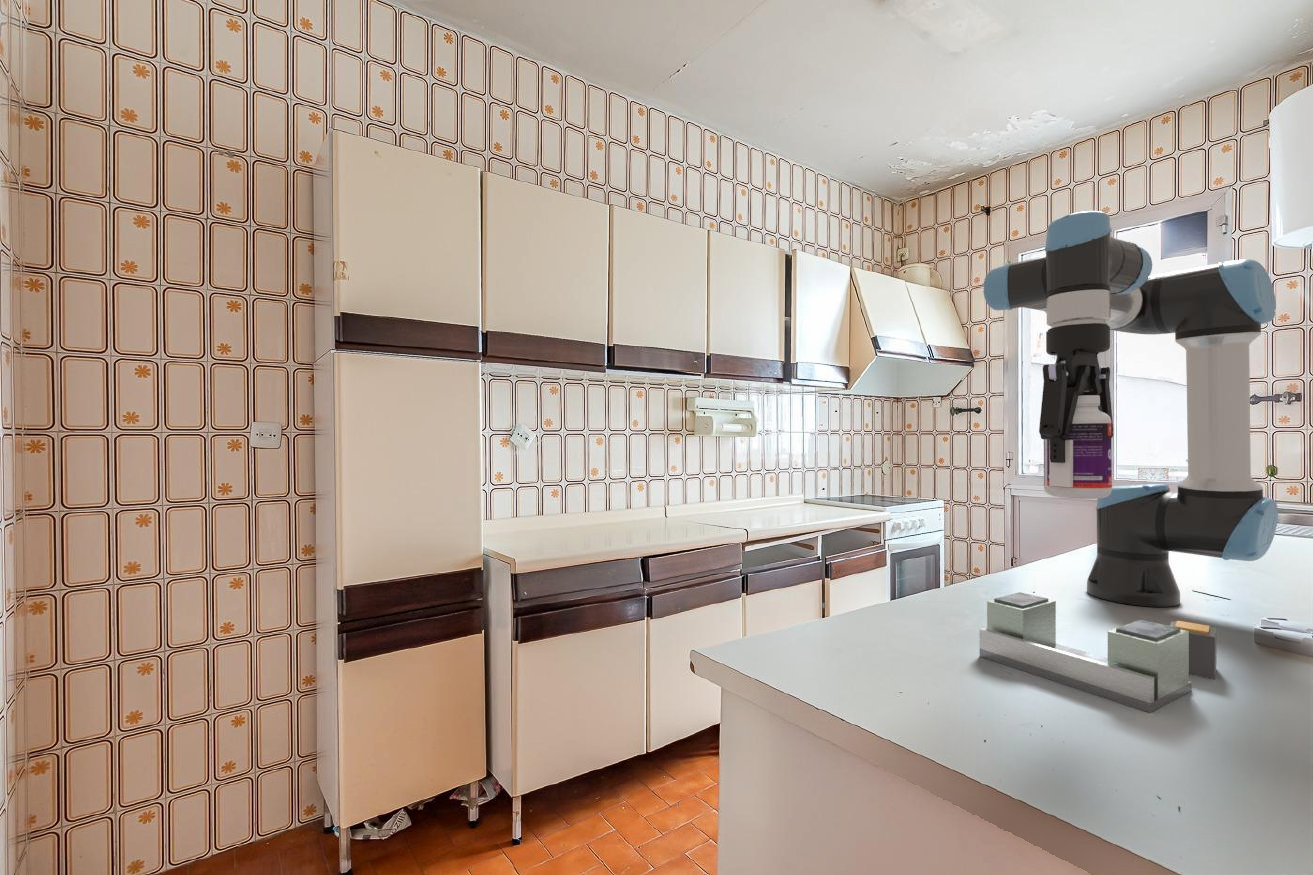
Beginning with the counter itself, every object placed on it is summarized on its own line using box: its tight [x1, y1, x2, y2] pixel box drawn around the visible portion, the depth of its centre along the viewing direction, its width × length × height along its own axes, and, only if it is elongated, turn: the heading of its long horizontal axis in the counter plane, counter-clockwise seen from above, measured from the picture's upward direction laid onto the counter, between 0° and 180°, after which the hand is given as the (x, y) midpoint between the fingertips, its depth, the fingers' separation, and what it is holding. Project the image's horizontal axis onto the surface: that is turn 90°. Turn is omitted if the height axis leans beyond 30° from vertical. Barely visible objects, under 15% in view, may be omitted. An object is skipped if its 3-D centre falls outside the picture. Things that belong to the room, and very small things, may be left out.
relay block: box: [1169, 620, 1218, 680], centre depth 88 cm, size 5×5×6 cm
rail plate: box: [978, 591, 1193, 714], centre depth 88 cm, size 12×22×9 cm, turn 30°
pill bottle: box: [1043, 395, 1113, 499], centre depth 87 cm, size 8×8×14 cm
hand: (1077, 484), depth 87 cm, fingers closed on pill bottle, 8 cm apart
